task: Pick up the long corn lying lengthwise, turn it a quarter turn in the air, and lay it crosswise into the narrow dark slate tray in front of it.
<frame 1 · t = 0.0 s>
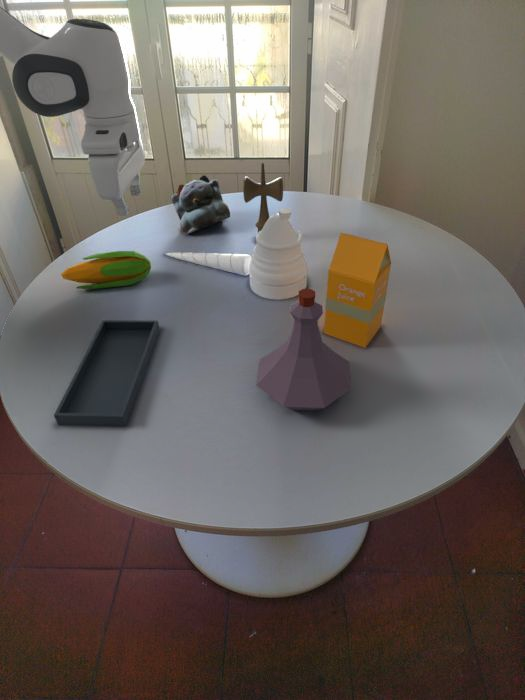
hand: (130, 204, 93), 20 cm above the table, tool pointing down, fingers open, 8 cm apart
lucky cat figurine: (201, 226, 130), on the table
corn: (110, 284, 108), on the table
flask: (303, 392, 80), on the table
kendama: (264, 241, 123), on the table
honey pot: (278, 285, 106), on the table
orange juice: (352, 331, 93), on the table
tray: (114, 373, 85), on the table
unicorn horn: (208, 267, 113), on the table
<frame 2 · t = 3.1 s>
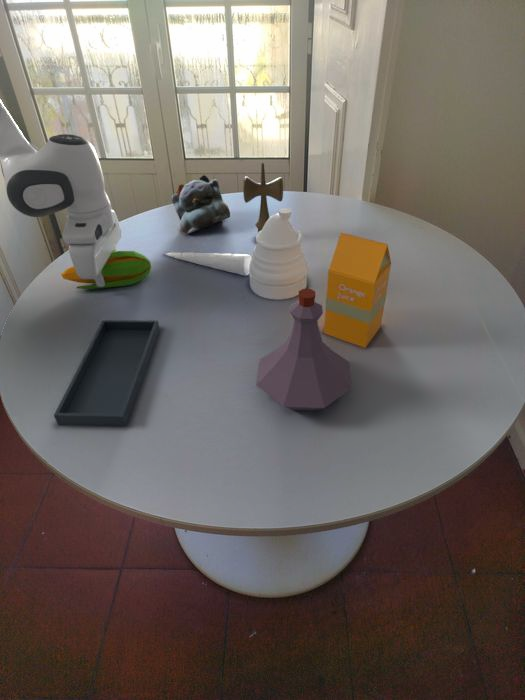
hand: (107, 275, 107), 2 cm above the table, tool pointing down, fingers closed on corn, 7 cm apart
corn: (110, 284, 109), on the table, touching gripper
everything else where it was.
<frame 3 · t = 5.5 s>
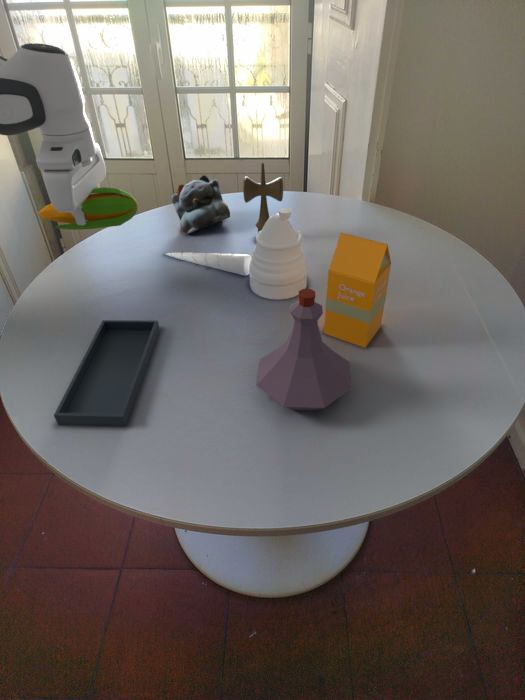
hand: (89, 214, 97), 17 cm above the table, tool pointing down, fingers closed on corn, 7 cm apart
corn: (92, 226, 99), point 14 cm above the table, touching gripper
everything else where it was.
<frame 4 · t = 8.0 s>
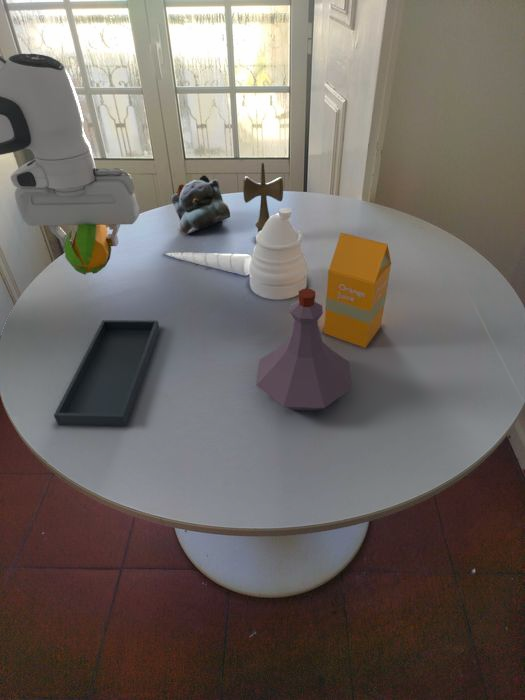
hand: (90, 245, 86), 17 cm above the table, tool pointing down, fingers closed on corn, 7 cm apart
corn: (94, 257, 88), point 15 cm above the table, touching gripper
everything else where it was.
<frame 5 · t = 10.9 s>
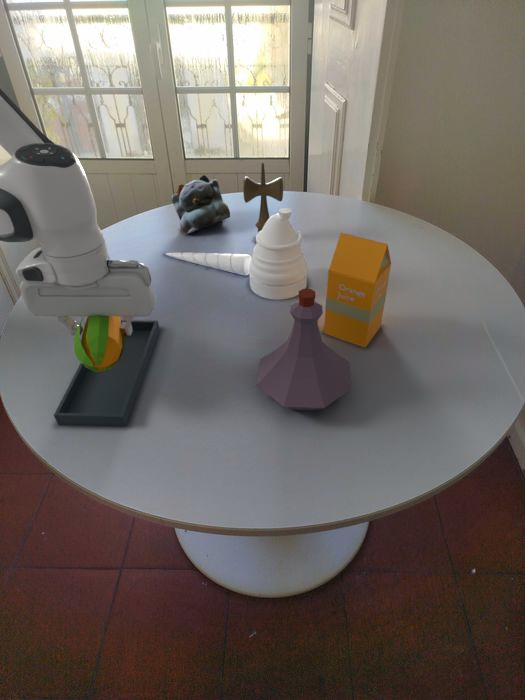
hand: (102, 333, 79), 9 cm above the table, tool pointing down, fingers closed on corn, 7 cm apart
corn: (105, 345, 81), point 7 cm above the table, touching gripper
everything else where it was.
when the fingers open (3 cm above the table, at t = 13.1 s): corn stays where it is, resting on tray.
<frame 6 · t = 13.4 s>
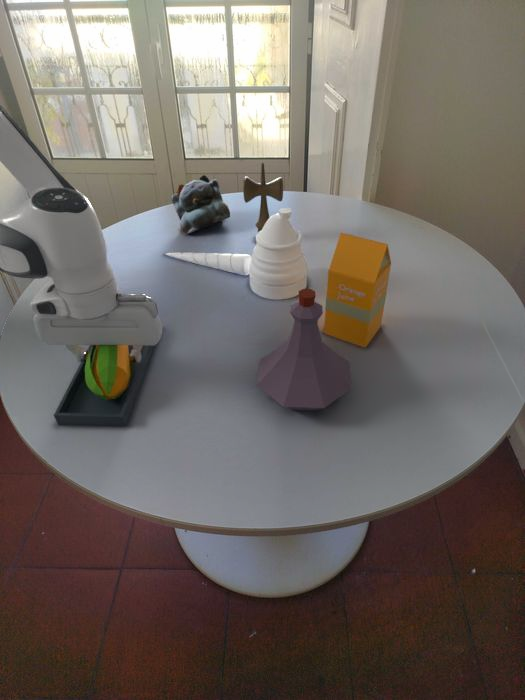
hand: (110, 359, 83), 3 cm above the table, tool pointing down, fingers open, 8 cm apart
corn: (114, 371, 85), resting on tray
everything else where it was.
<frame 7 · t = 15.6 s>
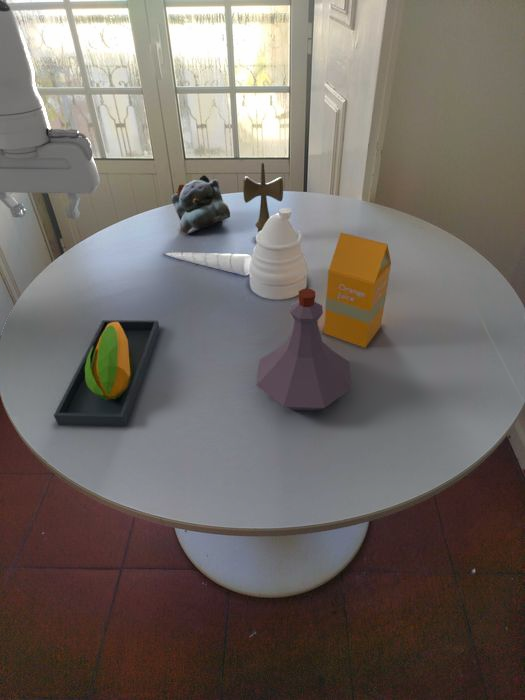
hand: (47, 216, 79), 25 cm above the table, tool pointing down, fingers open, 8 cm apart
nothing on the table moved.
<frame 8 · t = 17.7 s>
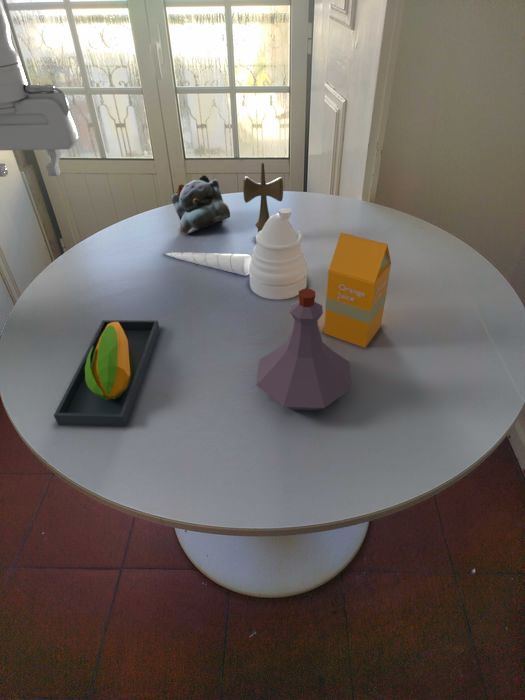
hand: (28, 175, 81), 29 cm above the table, tool pointing down, fingers open, 8 cm apart
nothing on the table moved.
at the end: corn inside the target area in the tray (0.0 cm from its centre), point 0.4 cm above the tray's base; the gripper is holding nothing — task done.
